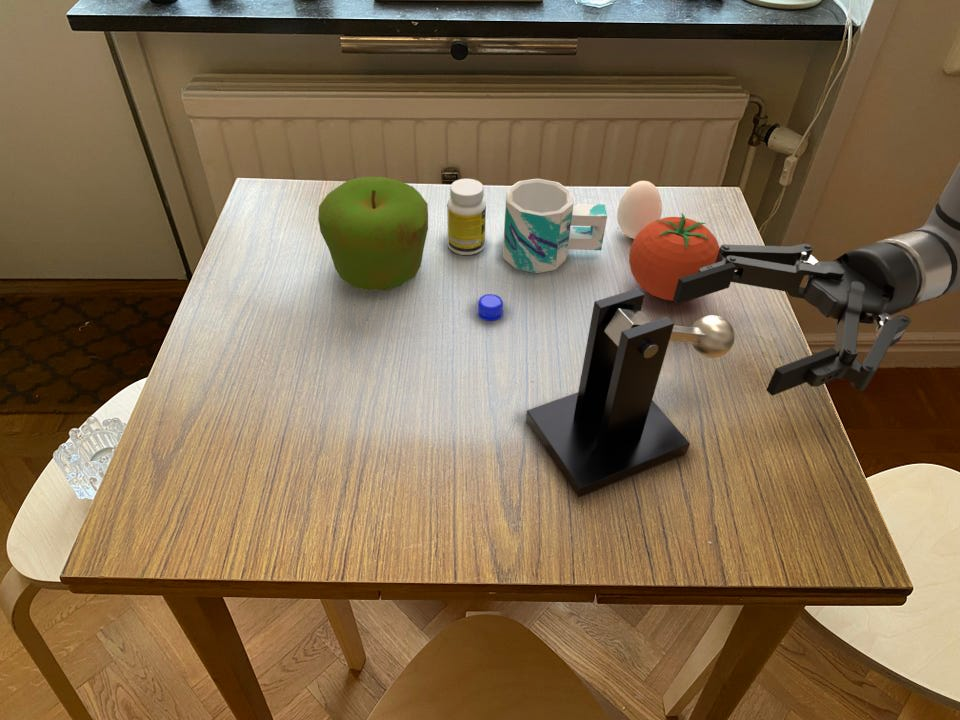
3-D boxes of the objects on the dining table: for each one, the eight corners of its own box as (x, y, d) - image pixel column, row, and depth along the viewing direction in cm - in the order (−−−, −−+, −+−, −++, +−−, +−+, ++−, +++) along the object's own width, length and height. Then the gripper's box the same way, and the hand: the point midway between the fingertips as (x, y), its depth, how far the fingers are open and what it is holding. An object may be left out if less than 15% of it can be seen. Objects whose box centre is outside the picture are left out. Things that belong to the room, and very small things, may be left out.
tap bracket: (627, 383, 73) (657, 260, 62) (686, 453, 67) (732, 329, 56) (525, 420, 69) (538, 295, 58) (578, 498, 63) (604, 374, 52)
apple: (314, 257, 87) (300, 176, 79) (405, 233, 92) (401, 153, 84) (349, 318, 80) (337, 234, 72) (447, 288, 84) (446, 206, 76)
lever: (699, 341, 68) (722, 308, 66) (726, 368, 66) (751, 334, 64) (593, 332, 60) (616, 293, 58) (619, 362, 57) (645, 323, 55)
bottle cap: (489, 300, 82) (489, 288, 81) (508, 312, 81) (509, 300, 80) (471, 312, 81) (471, 300, 80) (491, 324, 79) (491, 313, 78)
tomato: (623, 314, 81) (639, 242, 74) (621, 261, 88) (636, 190, 81) (714, 322, 81) (738, 250, 74) (704, 268, 88) (726, 198, 81)
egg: (610, 223, 94) (620, 170, 89) (651, 224, 94) (663, 171, 89) (616, 248, 90) (626, 193, 85) (658, 249, 91) (672, 194, 85)
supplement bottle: (488, 254, 89) (490, 195, 83) (451, 258, 88) (451, 199, 82) (480, 232, 92) (482, 174, 86) (444, 236, 91) (443, 178, 86)
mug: (502, 233, 92) (506, 176, 86) (594, 236, 92) (604, 179, 86) (503, 272, 86) (507, 213, 80) (601, 275, 86) (612, 216, 80)
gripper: (974, 383, 67) (806, 456, 60) (788, 242, 83) (638, 288, 76) (1019, 323, 62) (839, 397, 55) (811, 185, 78) (652, 229, 71)
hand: (722, 334), depth 65 cm, fingers open, 13 cm apart
